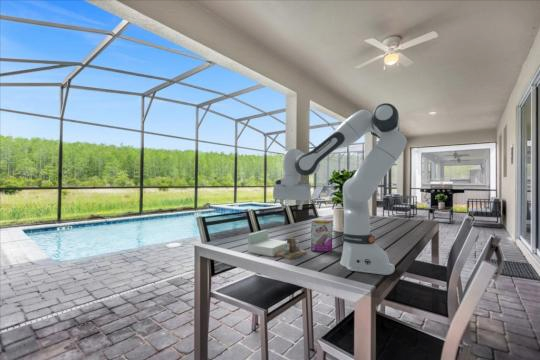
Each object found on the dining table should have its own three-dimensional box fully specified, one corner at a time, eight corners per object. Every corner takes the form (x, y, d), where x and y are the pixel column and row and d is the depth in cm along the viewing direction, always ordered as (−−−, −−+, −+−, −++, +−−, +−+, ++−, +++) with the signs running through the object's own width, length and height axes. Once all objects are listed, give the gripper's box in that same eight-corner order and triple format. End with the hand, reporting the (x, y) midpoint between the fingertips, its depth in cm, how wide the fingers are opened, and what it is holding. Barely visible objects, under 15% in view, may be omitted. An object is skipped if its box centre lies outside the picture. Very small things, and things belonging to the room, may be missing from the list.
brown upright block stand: (306, 253, 136) (306, 237, 136) (290, 260, 125) (290, 242, 125) (291, 250, 141) (291, 234, 141) (275, 256, 130) (275, 239, 130)
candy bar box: (311, 251, 139) (311, 220, 139) (310, 248, 144) (310, 219, 144) (332, 252, 138) (332, 220, 138) (331, 249, 143) (331, 219, 143)
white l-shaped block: (288, 248, 143) (288, 232, 143) (272, 256, 129) (272, 238, 129) (265, 245, 152) (265, 229, 152) (247, 251, 137) (248, 234, 137)
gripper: (313, 181, 130) (313, 209, 130) (277, 181, 141) (277, 207, 141) (307, 181, 125) (307, 210, 125) (271, 181, 136) (271, 208, 136)
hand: (291, 208), depth 133 cm, fingers open, 8 cm apart
